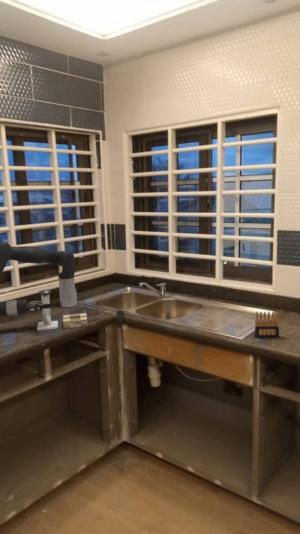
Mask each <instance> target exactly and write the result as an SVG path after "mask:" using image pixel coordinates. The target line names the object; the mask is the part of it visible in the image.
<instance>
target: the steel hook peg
mask: <svg viewBox="0 0 300 534" xmlns="http://www.w3.org/2000/svg"><path fill="white" fill-rule="evenodd" d="M51 293H52V290H50V289H42V290H39V291H38V294H39V295H40V296H41V297H40V298H41V301H42V304H50V301H51V299H50V294H51ZM51 312H52V310H51V308H46V309H42V322H43V323H44V324H50V323H52V322H51V321H52V313H51Z"/></svg>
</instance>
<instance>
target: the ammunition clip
mask: <svg viewBox="0 0 300 534" xmlns="http://www.w3.org/2000/svg"><path fill="white" fill-rule="evenodd" d="M266 313H267V314H266ZM254 319H255V320H254V332H253V334H254V335H253V337H254V338H255V339H258V338H259V339H261V338H265V339H266V338H273V339H275V338H280V327H279V326H280V324H279V323H280V321H279V311H276V312H275V313H274V311H272V312H271V313H270V311H268V312H266V311H263V313H262V311H259V314H258V311H256V312H255V318H254Z"/></svg>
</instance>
